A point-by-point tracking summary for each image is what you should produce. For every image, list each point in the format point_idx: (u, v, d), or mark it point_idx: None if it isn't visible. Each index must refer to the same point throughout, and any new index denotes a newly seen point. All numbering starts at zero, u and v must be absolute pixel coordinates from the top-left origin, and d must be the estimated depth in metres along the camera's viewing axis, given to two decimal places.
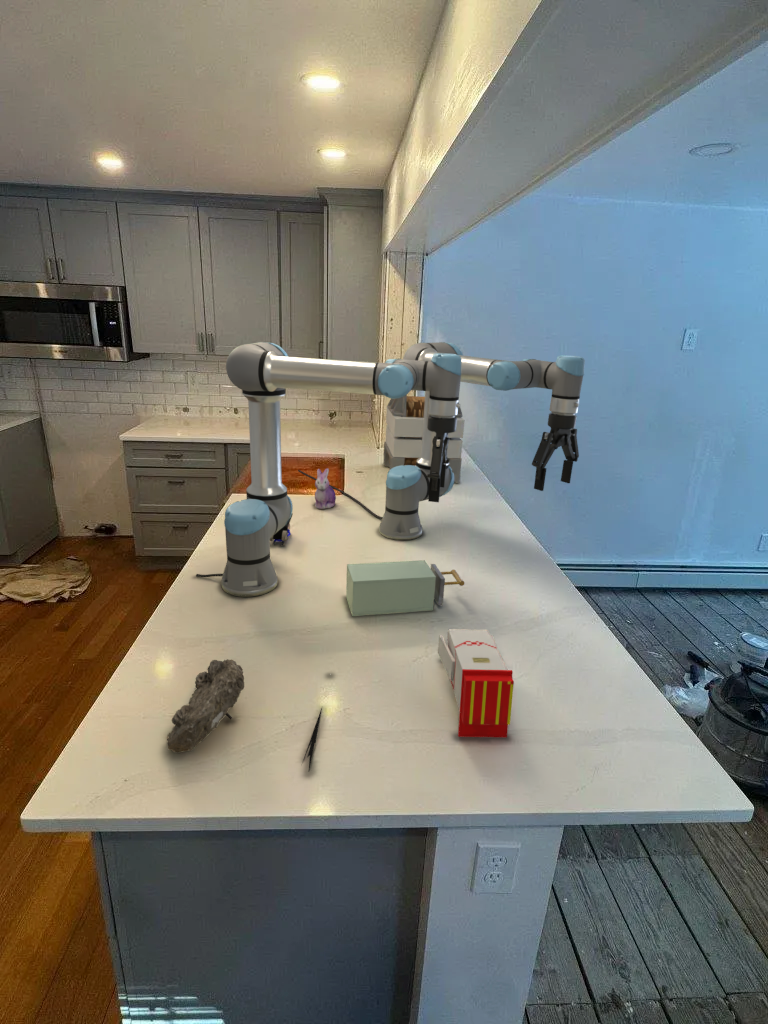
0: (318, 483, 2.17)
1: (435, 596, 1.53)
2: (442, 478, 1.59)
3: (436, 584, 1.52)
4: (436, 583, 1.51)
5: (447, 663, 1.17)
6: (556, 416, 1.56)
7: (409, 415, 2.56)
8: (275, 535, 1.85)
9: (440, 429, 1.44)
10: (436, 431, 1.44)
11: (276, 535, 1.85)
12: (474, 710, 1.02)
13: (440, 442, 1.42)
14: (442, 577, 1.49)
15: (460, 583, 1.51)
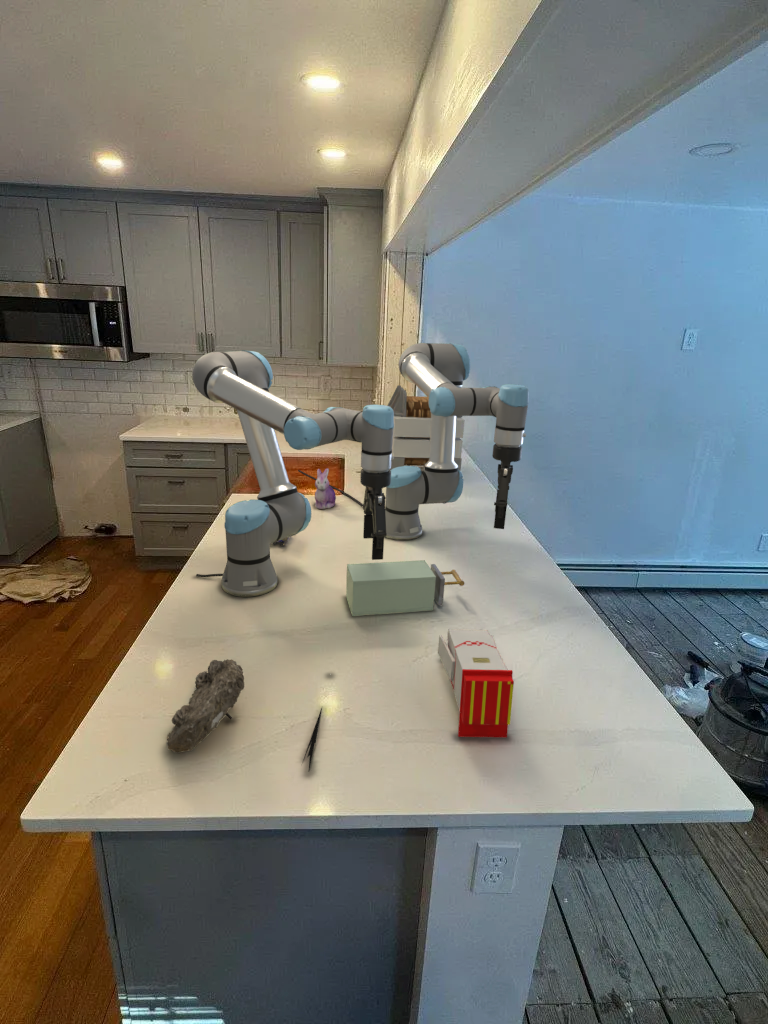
0: (318, 483, 2.17)
1: (435, 596, 1.53)
2: (371, 529, 1.52)
3: (436, 584, 1.52)
4: (436, 583, 1.51)
5: (447, 663, 1.17)
6: (509, 449, 1.47)
7: (409, 415, 2.56)
8: None
9: (378, 484, 1.37)
10: (374, 487, 1.37)
11: None
12: (474, 710, 1.02)
13: (382, 499, 1.35)
14: (442, 577, 1.49)
15: (460, 583, 1.51)
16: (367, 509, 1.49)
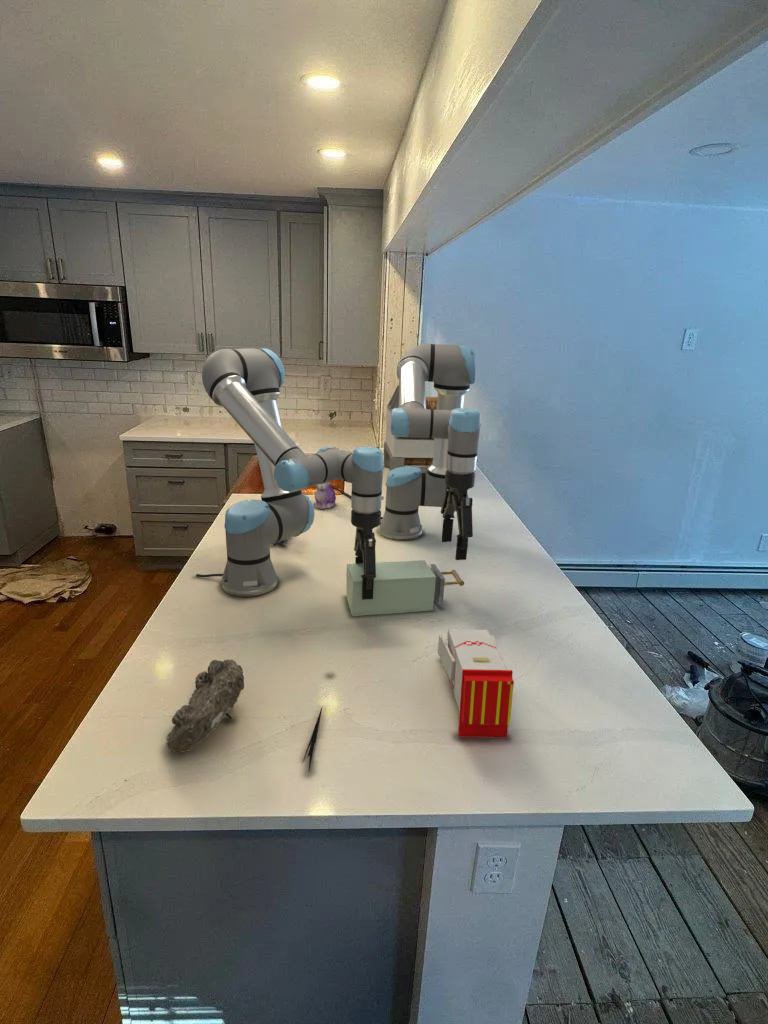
0: None
1: (435, 596, 1.53)
2: None
3: (436, 584, 1.52)
4: (437, 583, 1.51)
5: (447, 663, 1.17)
6: (466, 477, 1.40)
7: None
8: None
9: (369, 525, 1.39)
10: (364, 527, 1.39)
11: None
12: (474, 710, 1.02)
13: (372, 542, 1.38)
14: (442, 577, 1.49)
15: (460, 583, 1.51)
16: (358, 550, 1.50)
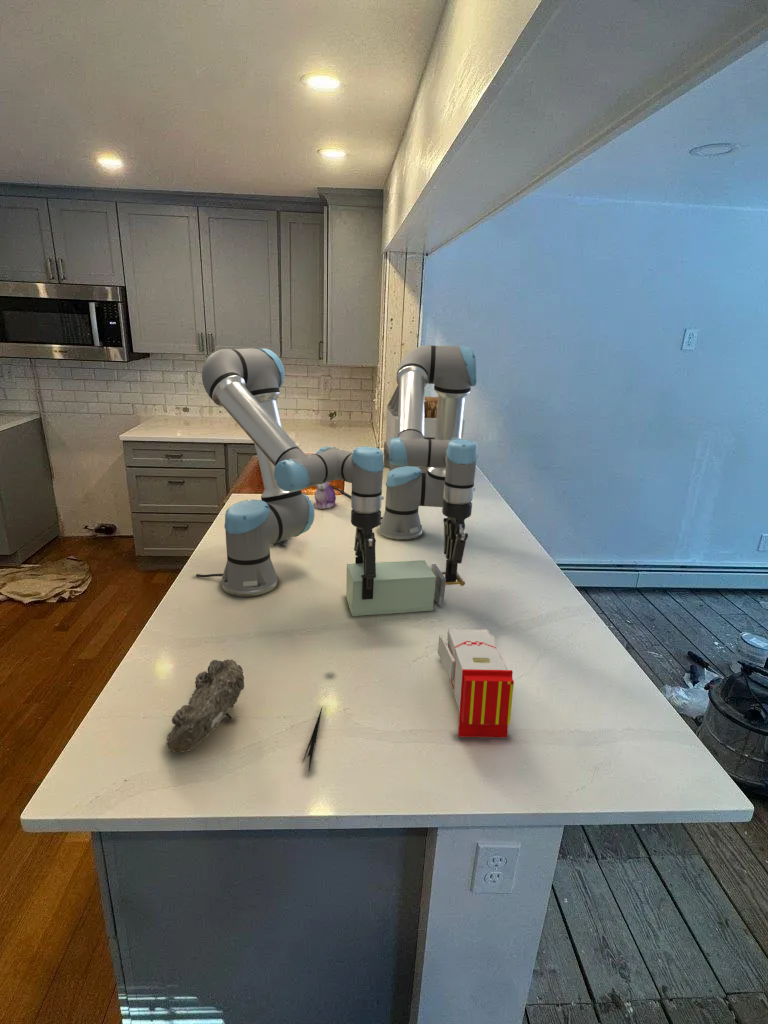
0: None
1: (436, 596, 1.53)
2: None
3: (436, 584, 1.52)
4: (437, 583, 1.51)
5: (447, 663, 1.17)
6: (463, 507, 1.43)
7: None
8: None
9: (368, 525, 1.39)
10: (364, 527, 1.39)
11: None
12: (474, 710, 1.02)
13: (372, 542, 1.38)
14: (443, 577, 1.49)
15: (461, 583, 1.51)
16: (358, 550, 1.50)
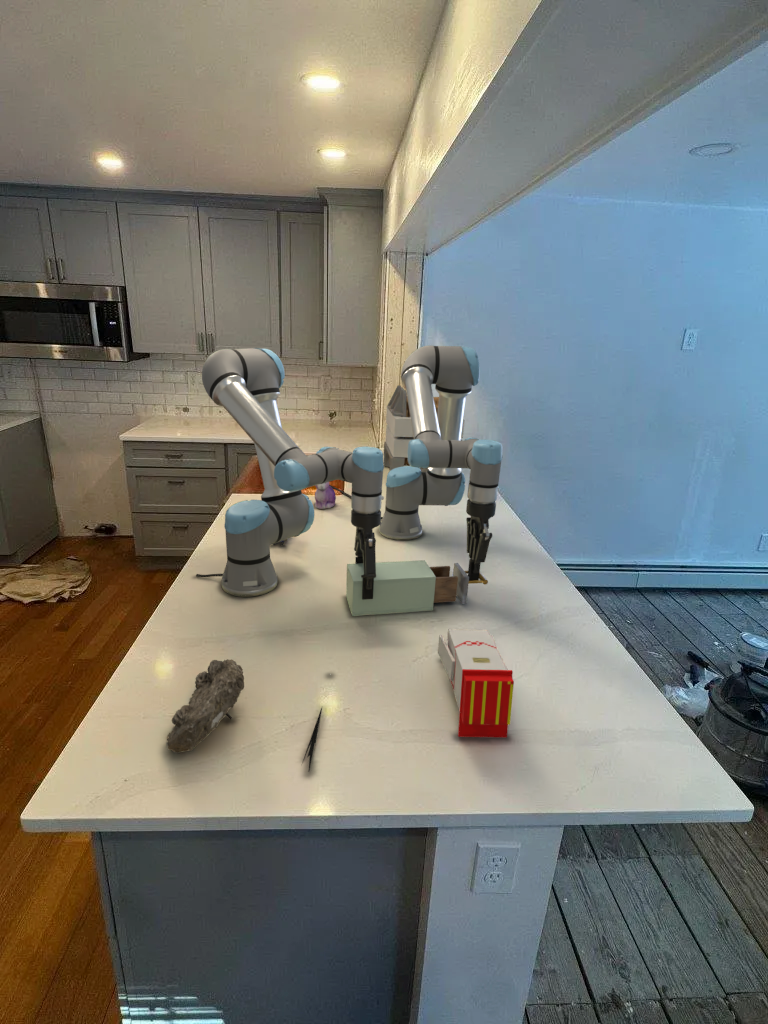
0: None
1: (458, 595, 1.54)
2: None
3: (459, 583, 1.53)
4: (460, 582, 1.53)
5: (447, 663, 1.17)
6: (487, 506, 1.45)
7: (409, 415, 2.56)
8: None
9: (369, 525, 1.39)
10: (364, 527, 1.39)
11: None
12: (474, 710, 1.02)
13: (373, 542, 1.38)
14: (466, 576, 1.50)
15: (484, 582, 1.52)
16: (358, 550, 1.50)
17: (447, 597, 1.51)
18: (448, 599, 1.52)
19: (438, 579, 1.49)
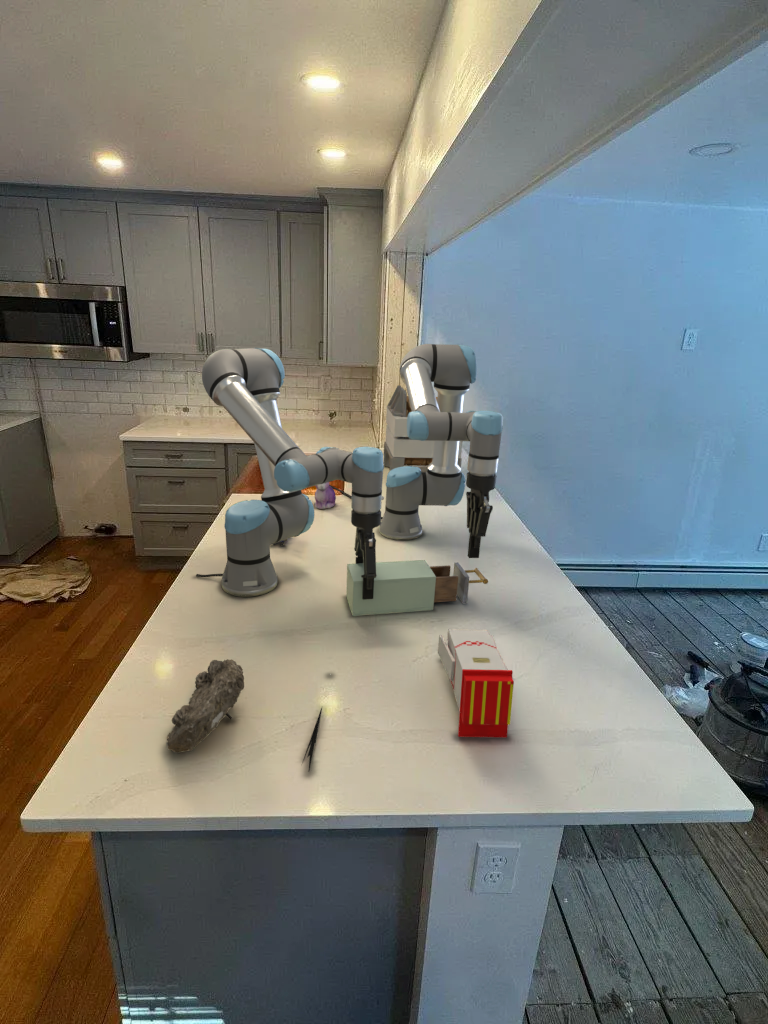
0: None
1: (459, 594, 1.54)
2: None
3: (459, 582, 1.54)
4: (461, 581, 1.53)
5: (447, 663, 1.17)
6: (488, 478, 1.42)
7: None
8: None
9: (369, 525, 1.39)
10: (364, 527, 1.39)
11: None
12: (474, 710, 1.02)
13: (373, 542, 1.38)
14: (467, 575, 1.50)
15: (484, 581, 1.52)
16: (358, 550, 1.50)
17: (447, 597, 1.52)
18: (448, 599, 1.52)
19: (438, 579, 1.49)
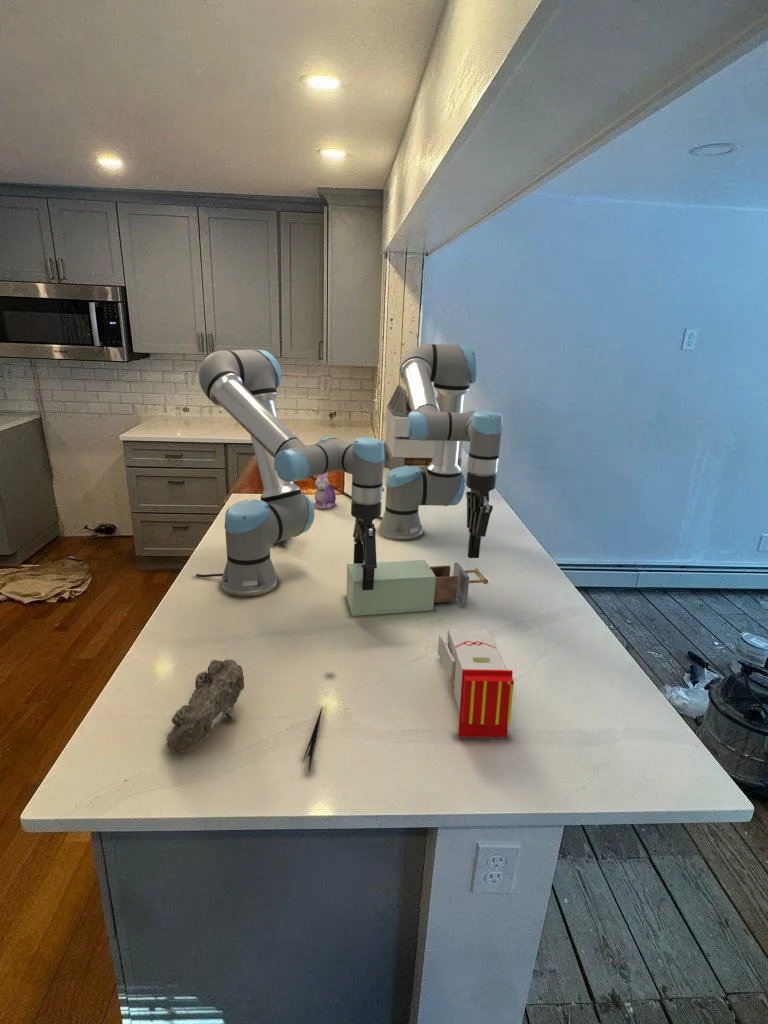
0: (318, 483, 2.17)
1: (459, 594, 1.54)
2: (361, 557, 1.53)
3: (459, 582, 1.54)
4: (460, 581, 1.53)
5: (447, 663, 1.17)
6: (488, 478, 1.42)
7: None
8: None
9: (369, 516, 1.39)
10: (364, 519, 1.39)
11: None
12: (474, 710, 1.02)
13: (373, 531, 1.37)
14: (467, 576, 1.50)
15: (484, 581, 1.52)
16: (357, 538, 1.50)
17: (447, 597, 1.52)
18: (448, 599, 1.52)
19: (438, 579, 1.49)
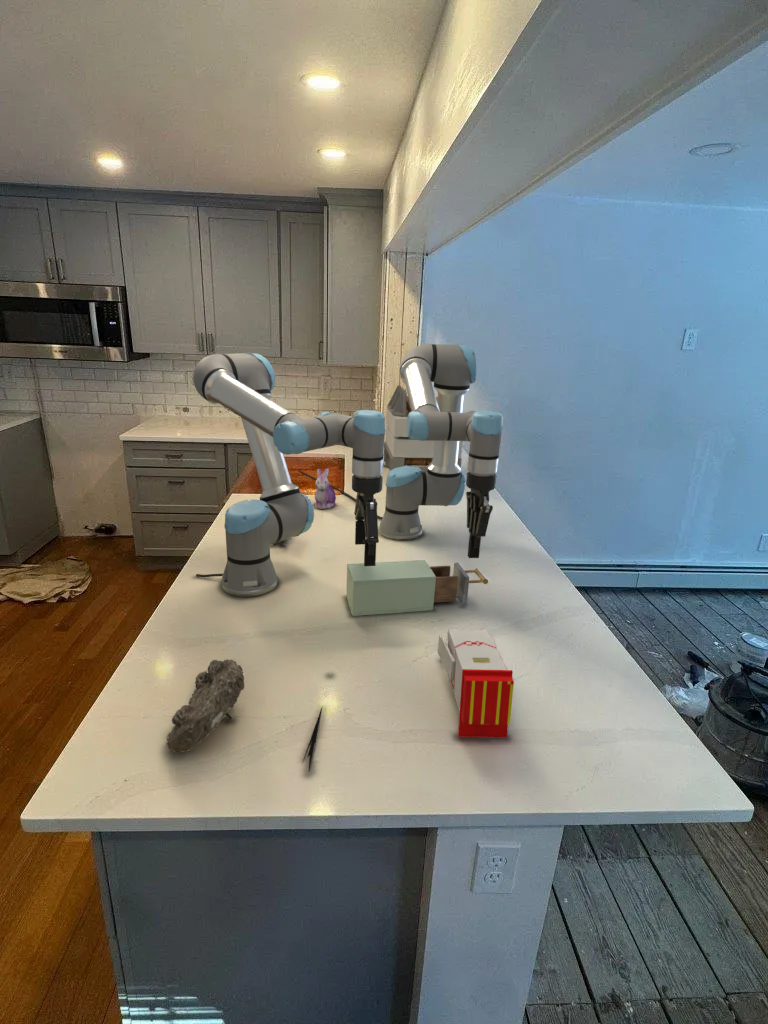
0: (318, 483, 2.17)
1: (459, 594, 1.54)
2: (363, 535, 1.51)
3: (459, 582, 1.54)
4: (460, 581, 1.53)
5: (447, 663, 1.17)
6: (488, 478, 1.42)
7: None
8: None
9: (370, 490, 1.36)
10: (365, 493, 1.36)
11: None
12: (474, 710, 1.02)
13: (374, 505, 1.34)
14: (467, 576, 1.50)
15: (484, 581, 1.52)
16: (359, 515, 1.48)
17: (447, 597, 1.52)
18: (448, 599, 1.52)
19: (438, 579, 1.49)
